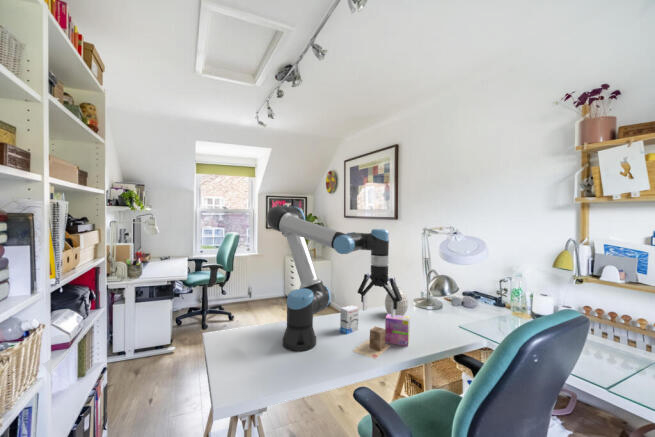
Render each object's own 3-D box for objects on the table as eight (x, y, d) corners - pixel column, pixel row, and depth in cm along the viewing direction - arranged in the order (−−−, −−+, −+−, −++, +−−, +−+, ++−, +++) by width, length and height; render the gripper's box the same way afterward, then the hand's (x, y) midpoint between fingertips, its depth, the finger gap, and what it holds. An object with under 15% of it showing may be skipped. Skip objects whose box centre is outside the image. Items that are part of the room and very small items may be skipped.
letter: (352, 351, 128) (352, 350, 128) (369, 339, 140) (369, 338, 140) (375, 359, 122) (375, 358, 122) (391, 346, 134) (391, 345, 134)
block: (369, 348, 131) (370, 329, 131) (374, 343, 135) (375, 326, 135) (379, 351, 128) (380, 332, 128) (385, 347, 132) (385, 329, 132)
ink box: (346, 334, 145) (347, 310, 145) (339, 331, 149) (340, 308, 148) (358, 330, 151) (359, 307, 150) (351, 327, 154) (352, 304, 154)
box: (384, 342, 137) (385, 317, 137) (386, 337, 142) (387, 313, 142) (408, 346, 134) (408, 320, 133) (409, 341, 139) (410, 316, 138)
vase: (383, 311, 178) (384, 284, 178) (406, 313, 177) (406, 285, 176) (385, 319, 166) (385, 289, 165) (408, 321, 164) (409, 291, 163)
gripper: (350, 262, 135) (349, 309, 135) (403, 269, 120) (402, 322, 121) (358, 260, 141) (358, 305, 142) (410, 267, 126) (409, 317, 127)
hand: (378, 313), depth 131 cm, fingers open, 13 cm apart
